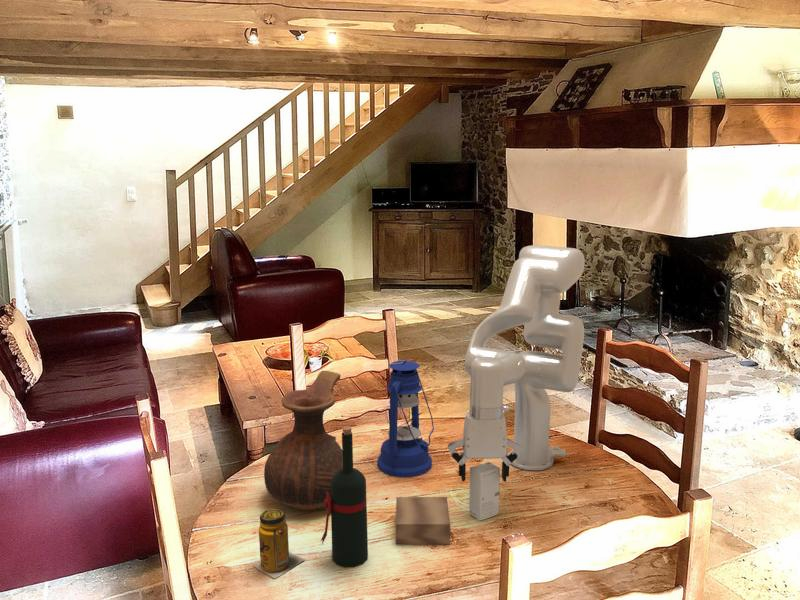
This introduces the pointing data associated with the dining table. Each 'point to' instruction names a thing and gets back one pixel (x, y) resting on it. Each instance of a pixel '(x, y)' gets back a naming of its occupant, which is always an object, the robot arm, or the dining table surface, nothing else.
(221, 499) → the dining table surface
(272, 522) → the condiment
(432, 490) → the dining table surface
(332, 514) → the wine bottle
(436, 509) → the walnut block
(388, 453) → the lantern
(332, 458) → the jug
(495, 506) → the skincare box
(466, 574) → the dining table surface
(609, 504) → the dining table surface
